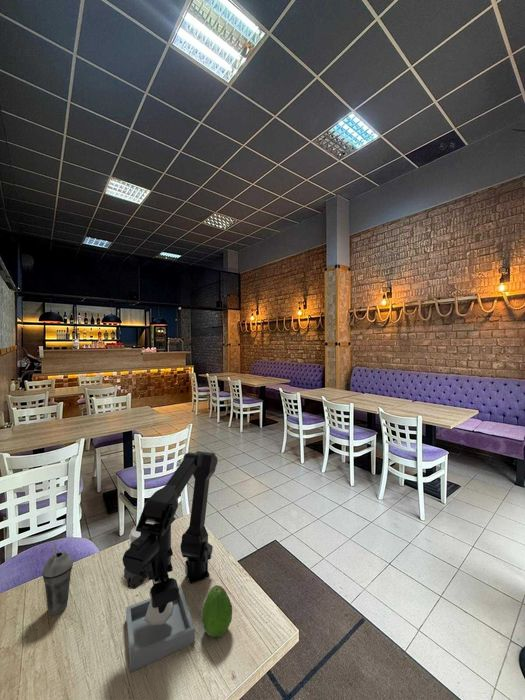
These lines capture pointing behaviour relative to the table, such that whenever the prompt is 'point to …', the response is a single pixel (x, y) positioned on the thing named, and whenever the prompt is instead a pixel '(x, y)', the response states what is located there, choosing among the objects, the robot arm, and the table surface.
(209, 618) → the avocado
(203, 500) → the robot arm
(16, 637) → the table surface
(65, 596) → the beverage cup
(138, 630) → the serving bin
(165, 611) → the flask
